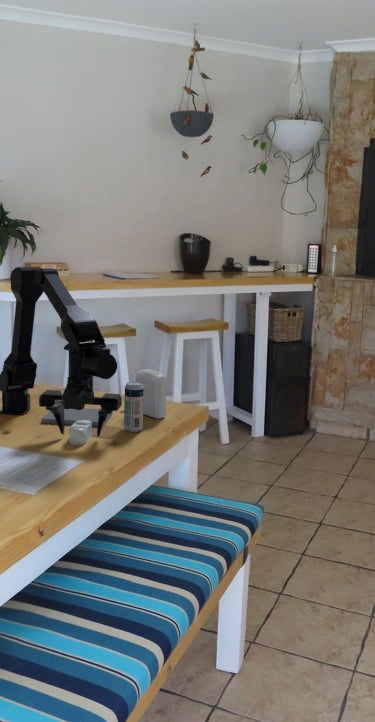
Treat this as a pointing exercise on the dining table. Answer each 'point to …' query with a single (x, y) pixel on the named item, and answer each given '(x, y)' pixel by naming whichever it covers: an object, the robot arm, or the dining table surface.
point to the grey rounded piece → (80, 432)
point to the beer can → (133, 407)
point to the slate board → (76, 416)
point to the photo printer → (153, 393)
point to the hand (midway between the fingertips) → (80, 435)
